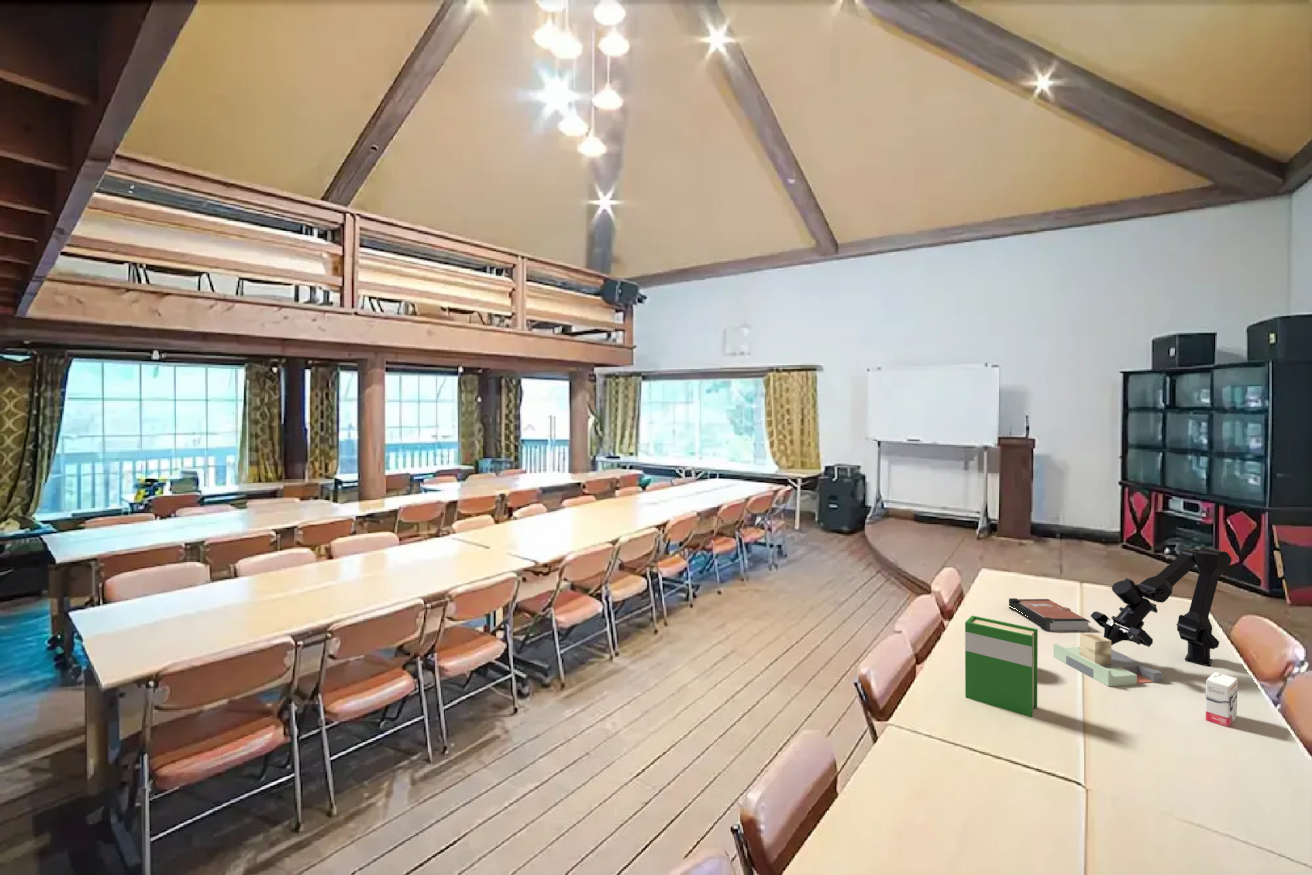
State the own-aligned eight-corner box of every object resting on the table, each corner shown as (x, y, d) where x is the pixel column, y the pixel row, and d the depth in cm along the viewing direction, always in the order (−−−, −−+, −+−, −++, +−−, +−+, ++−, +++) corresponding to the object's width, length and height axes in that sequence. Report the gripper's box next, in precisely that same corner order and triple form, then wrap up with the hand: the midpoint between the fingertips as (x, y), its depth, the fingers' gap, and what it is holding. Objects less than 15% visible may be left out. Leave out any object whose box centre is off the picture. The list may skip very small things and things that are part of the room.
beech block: (1095, 656, 198) (1095, 633, 197) (1111, 664, 192) (1111, 640, 191) (1079, 657, 197) (1079, 634, 196) (1094, 665, 191) (1095, 641, 191)
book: (1091, 632, 226) (1091, 619, 226) (1046, 632, 227) (1046, 620, 227) (1049, 609, 252) (1049, 597, 252) (1008, 609, 253) (1008, 598, 253)
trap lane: (1102, 652, 207) (1102, 639, 206) (1162, 681, 185) (1162, 666, 185) (1053, 656, 205) (1053, 643, 204) (1108, 686, 183) (1108, 671, 183)
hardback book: (1037, 707, 172) (1037, 628, 171) (1031, 717, 166) (1032, 636, 165) (972, 688, 184) (972, 615, 183) (965, 697, 179) (965, 622, 178)
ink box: (1228, 727, 158) (1229, 686, 158) (1204, 719, 163) (1205, 679, 162) (1237, 717, 163) (1238, 677, 162) (1213, 710, 167) (1214, 671, 167)
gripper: (1176, 638, 187) (1145, 674, 186) (1124, 618, 205) (1095, 650, 204) (1155, 616, 185) (1123, 652, 185) (1104, 597, 204) (1075, 630, 203)
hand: (1104, 646), depth 194 cm, fingers closed
